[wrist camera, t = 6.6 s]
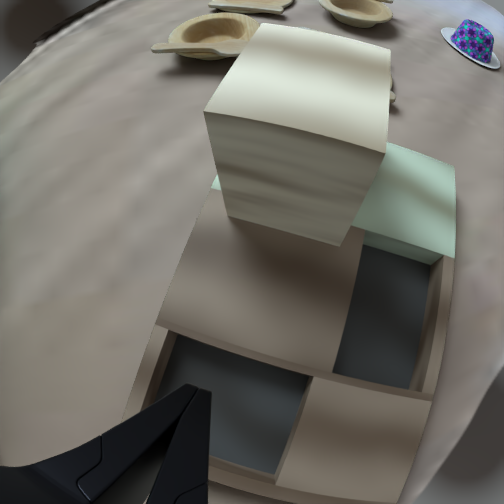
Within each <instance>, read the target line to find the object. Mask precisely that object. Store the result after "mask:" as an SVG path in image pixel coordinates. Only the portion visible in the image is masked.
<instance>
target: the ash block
mask: <svg viewBox="0 0 504 504" xmlns="http://www.w3.org/2000/svg"><path fill="white" fill-rule="evenodd" d="M389 99H390V50H389V49H385V48H382V47H379V46H375V45H372V44H368V43H365V42H361V41H357V40H353V39H349V38H345V37H341V36H337V35H332V34H328V33H323V32H318V31H313V30H307V29H302V28H296V27H289V26H283V25H275V24H267V23H262V24H261V25H260V27H259V28H258V29H257V31H256V32H255V34H254V35H253V36H252V38H251V39H250V41H249V42H248V43H247V45H246V46H245V48H244V49H243V51H242V52H241V53H240V55H239V56H238V58H237V59H236V61H235V62H234V64H233V65H232V67H231V68H230V70H229V71H228V73H227V74H226V76H225V77H224V79H223V80H222V82H221V83H220V85H219V87H218V88H217V90H216V91H215V93H214V94H213V96H212V98H211V99H210V101H209V103H208V104H207V106H206V107H205V109H204V111H203V112H204V116H205V121H206V125H207V130H208V134H209V139H210V143H211V147H212V152H213V156H214V161H215V165H216V169H217V174H218V178H219V182H220V187H221V191H222V195H223V200H224V204H225V208H226V212H227V216H230V217H234V218H238V219H242V220H245V221H249V222H253V223H256V224H260V225H264V226H267V227H271V228H275V229H278V230H282V231H286V232H289V233H293V234H296V235H300V236H303V237H307V238H310V239H314V240H317V241H321V242H324V243H328V244H331V245H335V246H338V247H340V245H341V243H342V241H343V240H344V238H345V236H346V234H347V232H348V230H349V228H350V226H351V224H352V222H353V220H354V218H355V216H356V214H357V212H358V210H359V208H360V206H361V204H362V202H363V200H364V198H365V196H366V194H367V192H368V190H369V188H370V186H371V184H372V182H373V180H374V178H375V175H376V173H377V171H378V169H379V167H380V165H381V163H382V161H383V158H384V156H385V154H386V145H387V133H388V118H389Z"/></svg>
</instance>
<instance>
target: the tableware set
mask: <svg viewBox="0 0 504 504" xmlns="http://www.w3.org/2000/svg"><path fill="white" fill-rule="evenodd" d="M292 2H293V0H212V2H210V3H208V6H209V7H210V8H218V9H220V10H223V11H227V12H233V13H214V14H207V15H203V16H199V17H196V18H193V19H191V20H188V21H186V22H185V23H183V24H181V25H179V26H178V27H177V28H175V29H174V30H173V32H172V33H171V34H170V36H169V39H168V43H158V44H155V45H153V46H152V47H151V50H152V52H153V53H173V52H175V53H177V54H179V55H182V56H185V57H193V58H197V59H201V60H218V59H223V58H227V57H235V56H239V55H240V53H241V52H242V51H243V49H244V48H245V46H246V45H247V43H248V42H249V41H250V39H251V38H252V36H253V35H254V34H255V32H256V31H257V29H258V28H259V27H260V25H259V23H258V22H257V21H256V20H255V19H253V18H251V17H249V16H246V15H243V14H238V13H263V12H266V13H274V14H282V13H283V12H284V9H283V8H285V7H287V6H289V5H290V4H292ZM382 2H385V3H393V0H319V3H320V5H321V6H322V7H323V8H324V9H326V10H327V11H329V12H331V13H332V15H333V17H334V18H335V19H337V20H338V21H340V22H342V23H344V24H347V25H350V26H354V27H360V28H369V27H373V26H374V25H375V24H376V23H384V22H387V21H389V20H391V19H392V17H393V13H392V11H391V10H390V9H389V8H388V7H387V6H386V5H385V4H383V3H382ZM298 28H302V29H307V30H313V31H318V30H314V29H309V28H305V27H298ZM318 32H322V31H318ZM323 33H326V32H323ZM328 34H329V33H328ZM332 35H333V34H332ZM391 88H392V77H391V74H390V90H391ZM395 99H396V96H395V94H394V93H393V92H392V91H390V99H389V103H393V102H395Z"/></svg>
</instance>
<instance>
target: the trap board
mask: <svg viewBox="0 0 504 504" xmlns="http://www.w3.org/2000/svg"><path fill="white" fill-rule="evenodd" d="M455 237H456V195H455V172H454V166H451V165H449V164H447V163H444V162H442V161H439V160H436V159H434V158H431V157H429V156H426V155H423V154H421V153H418V152H415V151H412V150H410V149H407V148H404V147H401V146H398V145H395V144H392V143H389V142H387V145H386V154H385V156H384V158H383V161H382V163H381V165H380V167H379V169H378V171H377V173H376V175H375V178H374V180H373V182H372V184H371V186H370V188H369V190H368V192H367V194H366V196H365V198H364V200H363V202H362V204H361V206H360V208H359V210H358V212H357V214H356V216H355V218H354V220H353V222H352V224H351V226H350V228H349V230H348V232H347V234H346V236H345V238H344V240H343V241H342V243H341V245H340V247H338V246H335V245H331V244H328V243H324V242H321V241H317V240H314V239H310V238H307V237H303V236H300V235H296V234H293V233H289V232H286V231H282V230H278V229H275V228H271V227H267V226H264V225H260V224H256V223H253V222H249V221H245V220H242V219H238V218H234V217H230V216H227V212H226V208H225V204H224V200H223V195H222V191H221V187H220V182H219V178H218V174H217V176H216V178H215V180H214V182H213V185H212V187H211V189H210V191H209V193H208V196H207V198H206V200H205V202H204V205H203V207H202V209H201V212H200V214H199V216H198V218H197V221H196V223H195V225H194V228H193V230H192V232H191V235H190V237H189V240H188V242H187V244H186V247H185V249H184V251H183V254H182V256H181V259H180V261H179V264H178V266H177V269H176V271H175V274H174V276H173V279H172V281H171V284H170V286H169V289H168V291H167V294H166V296H165V299H164V301H163V304H162V307H161V309H160V312H159V315H158V317H157V320H156V323H155V325H154V328H153V331H152V333H151V336H150V339H149V342H148V344H147V347H146V350H145V353H144V355H143V358H142V361H141V364H140V367H139V370H138V373H137V376H136V379H135V381H134V384H133V387H132V390H131V393H130V396H129V399H128V403H127V406H126V409H125V412H124V415H123V418H122V421H121V423H122V422H124V421H125V420H127V419H129V418H130V417H132V416H134V415H135V414H137V413H139V412H140V411H142V410H144V409H145V408H147V407H148V406H150V405H152V404H153V403H155V402H157V401H158V400H160V399H161V398H163V397H164V396H166V395H168V394H169V393H171V392H172V391H174V390H175V389H177V388H179V387H180V386H182V385H183V384H185V383H190V384H193V385H196V386H198V387H199V388H204V389H207V390H209V391H211V392H212V404H211V424H210V446H209V473H208V480H211V481H214V482H217V483H220V484H223V485H226V486H230V487H233V488H236V489H239V490H243V491H246V492H250V493H254V494H257V495H261V496H265V497H269V498H273V499H277V500H282V501H286V502H291V503H296V504H396V503H397V501H398V499H399V496H400V494H401V492H402V489H403V487H404V484H405V482H406V479H407V477H408V474H409V472H410V469H411V467H412V464H413V461H414V458H415V456H416V453H417V450H418V447H419V444H420V441H421V438H422V435H423V432H424V428H425V425H426V422H427V418H428V415H429V411H430V408H431V404H432V400H433V396H434V392H435V388H436V384H437V380H438V375H439V370H440V366H441V361H442V356H443V350H444V345H445V339H446V333H447V327H448V320H449V312H450V304H451V296H452V286H453V274H454V260H455Z"/></svg>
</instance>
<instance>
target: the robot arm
mask: <svg viewBox="0 0 504 504" xmlns="http://www.w3.org/2000/svg"><path fill="white" fill-rule="evenodd" d="M211 404H212V392H211V391H209V390H207V389H204V388H199V387H198V386H196V385H193V384H190V383H185V384H183V385H182V386H180V387H179V388H177V389H175V390H174V391H172V392H171V393H169V394H168V395H166V396H164V397H163V398H161V399H160V400H158V401H157V402H155V403H153V404H152V405H150V406H148V407H147V408H145V409H144V410H142V411H140V412H139V413H137V414H135V415H134V416H132V417H130V418H129V419H127V420H125V421H124V422H122V423H120V424H119V425H117V426H115V427H113V428H112V429H110V430H108V431H107V432H105V433H103V434H102V435H101V436H100V435H99V436H98V437H96V438H94V439H92V440H91V441H89V442H87V443H85V444H83V445H81V446H79V447H77V448H74V449H72V450H70V451H67V452H65V453H62V454H59V455H57V456H54V457H51V458H48V459H46V460H43V461H40V462H37V463H34V464H31V465H27V466H21V467H7V466H0V504H143V503H144V501H145V500H146V498H147V497H148V495H149V497H148V499H147V502H146V504H208V473H209V446H210V424H211Z"/></svg>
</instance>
